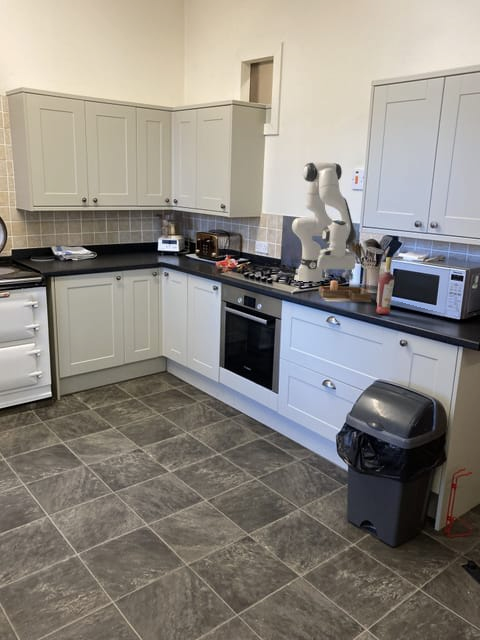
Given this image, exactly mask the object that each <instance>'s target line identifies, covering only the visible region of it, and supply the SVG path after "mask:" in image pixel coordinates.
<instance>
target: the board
mask: <svg viewBox="0 0 480 640" xmlns="http://www.w3.org/2000/svg"><path fill="white" fill-rule="evenodd" d="M321 298H322V299H323V300H324V301H325V302H352V303H353V302H355V303H356V301H351V300H350V299H349V298H323V297H322V296H321ZM370 302H371V303H373V300H372V299H371V300H370ZM370 302H369V303H370Z"/></svg>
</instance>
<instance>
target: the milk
mask: <svg viewBox="0 0 480 640" xmlns="http://www.w3.org/2000/svg"><path fill="white" fill-rule="evenodd" d="M385 267H386V261H381V262H380V268H379V274H378V277H379V276H380V275H381V274H384V272H385ZM378 287H379V281H378V284H377V288H378ZM375 300H376V301H375V302H376V303H377V304H378V290H377V291H376V299H375Z"/></svg>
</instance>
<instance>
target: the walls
mask: <svg viewBox="0 0 480 640" xmlns="http://www.w3.org/2000/svg"><path fill="white" fill-rule="evenodd" d="M318 287H319V288H318V295H319V296H321V298H322V297H323V298H349V299H350V300H351V301H356V302H357V303H359V302H362V303H363V302H366V303H367V302H368V303H370V300H371V301H372V299H371V298H372V294H371V293H370V292H369V291H368V290H366V289H365V288H363V286H338V290H330V285H329V286H328V285H327V286H322V285H320V286H318ZM323 298H322V299H323ZM356 302H355V303H356Z"/></svg>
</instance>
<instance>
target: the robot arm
mask: <svg viewBox="0 0 480 640" xmlns="http://www.w3.org/2000/svg"><path fill="white" fill-rule="evenodd" d="M303 167H304V168H303V173H302V175H303V179H304V180H305V181H306V182H307V186H306V195H305V196H306V197H305V207H306V209H307V210H309V211H311V212H312V213H313V214H314V217H313V216H311V217H309V216H302V217H297V218H295V219H293V221H292V224H291V228H292V229H291V230H292V232H293V233H294V234H295V235H296V236H297V237H298V238H299V240H300V242H301V247H302V248H301V249H302V251H301V252H302V253H301V255H302V256H301V258H300V265H299V267H298V268H295V275H294V278H293V279H294V280H296V281H295V282H298V281H303V282H309V281H313V282H318V281H324V282H325V279H324V278H323V272H324V274H325V275H324V277H325V278H329V273H328V272H327V271H328V270H344V272H343V273H341V275H342V277H341V278H346V276H347V274H348V272H349V270H355V268H356V258H357V254H356V253H355V252H354V251H346V250H347V245H351V244H352V243H353V242H355V240H356V237H357V231H356V229H355V226H354V223H353V219H352V215H351V211H350V208H349V205H348V200H347V199H346V197H344V196H343V195H342V193H341V191H340V182H339V181H340V179H341V178H342V173H343V171H342V167H341V165H340V164H339V163H335V162H333V163H332V162H325V161H324V162H308V163H306V164H305V165H304V166H303ZM326 206H329V207H332V208H333V209H335V210H337V211H338V212H339V213H340V217H341V220H339V219H337V220H333V219H332V218H331V217H330V216H329V214H328V213H327V211H326ZM313 237H321V239H322V241H323V242H324V243H326V244H329V246H328V247H327V248H323V249H322V248H321V244H319V243H318V242H317V241H315V240H313ZM294 280H293V281H294ZM303 282H302V283H303Z"/></svg>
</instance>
